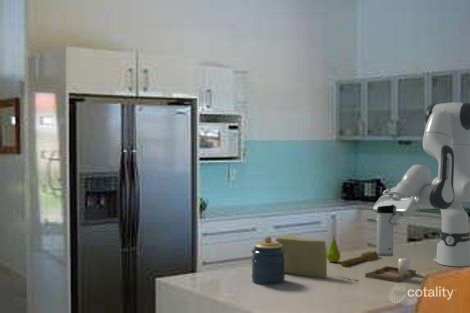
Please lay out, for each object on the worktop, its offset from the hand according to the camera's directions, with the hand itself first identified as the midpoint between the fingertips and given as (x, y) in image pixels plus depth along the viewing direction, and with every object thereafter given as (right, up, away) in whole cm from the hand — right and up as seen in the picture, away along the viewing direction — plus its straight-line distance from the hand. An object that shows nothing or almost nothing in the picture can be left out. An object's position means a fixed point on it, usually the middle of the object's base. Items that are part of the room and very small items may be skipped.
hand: (384, 222), depth 239 cm
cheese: (-31, -23, +11) cm, 40 cm away
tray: (+3, -23, +2) cm, 23 cm away
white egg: (+9, -21, +5) cm, 24 cm away
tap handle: (-2, -22, +36) cm, 42 cm away
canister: (-46, -23, -1) cm, 51 cm away
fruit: (-14, -22, +35) cm, 44 cm away
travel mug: (0, -13, 0) cm, 13 cm away
